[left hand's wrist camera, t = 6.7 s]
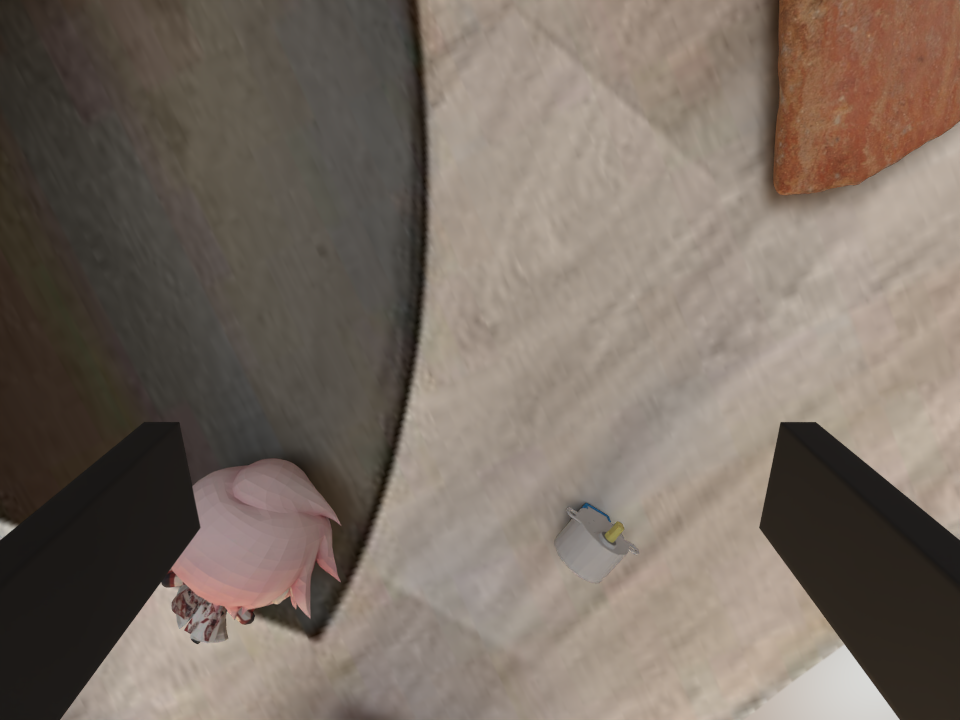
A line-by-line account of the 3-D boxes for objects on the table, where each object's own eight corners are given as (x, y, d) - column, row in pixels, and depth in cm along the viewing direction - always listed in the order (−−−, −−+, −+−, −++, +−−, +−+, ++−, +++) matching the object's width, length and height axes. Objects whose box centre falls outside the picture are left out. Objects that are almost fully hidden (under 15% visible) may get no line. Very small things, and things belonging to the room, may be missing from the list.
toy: (317, 625, 48) (397, 500, 43) (227, 732, 38) (316, 584, 33) (209, 540, 50) (273, 408, 44) (95, 620, 40) (161, 462, 34)
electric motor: (643, 515, 46) (662, 556, 41) (606, 555, 48) (620, 600, 43) (574, 473, 45) (585, 512, 40) (538, 517, 46) (545, 559, 41)
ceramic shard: (1069, 170, 32) (778, 202, 35) (994, 151, 37) (749, 179, 40) (1181, -176, 25) (808, -102, 28) (1068, -137, 31) (767, -79, 33)
